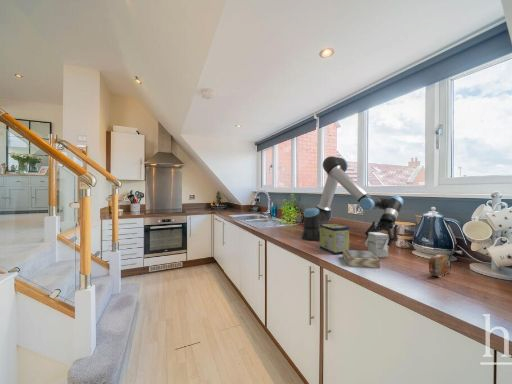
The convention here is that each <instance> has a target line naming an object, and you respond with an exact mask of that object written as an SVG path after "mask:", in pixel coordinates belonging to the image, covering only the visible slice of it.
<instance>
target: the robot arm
mask: <svg viewBox="0 0 512 384" xmlns="http://www.w3.org/2000/svg"><path fill="white" fill-rule="evenodd" d="M322 168H323V170H324V172H325V173H326V175H327V177H326V179H325V181H326V182H325V184H324V188H323V190H322V193H321V197H320V200H319V203H318V204H316V207H309V208H308V207H307V208H305V209H304V210H303V214H302V215H303V230H302V233H301V239H302V240H304V241H309V242H318V241H319V242H320V224H327V223H328V222H330V221H331V219H332V217H333V216H332V215H333V214H332V208H331V206H332V203H333V199H334V197H335V196H334V195H335V193H336V189H337V186H338V183H339V185H341V186H342V187H343V188H344V189H345V190H346V191H347V193H349V195H351V196H352V197H353V198H354V200H356V201H357V202H358V203H359V204H358V205H359V207H360V208H361V209H362V210H363V211H372V210H375V209H376V210H383V212H382V214H381V216H380V218H379V221H378V222H375V221H373V222H372V224H371V225H370V227H369V228H368V229H367V230H366V231H365V232H364V234H365V236H366V238H365V242H364V245H365V247H366V248H368V232H381V231H385V232H387V235H388V239H387V241H386V243H385V245H384V248H383V249H384V250H385V251H387V249H388V250H389V247H391V246H392V243H394V242H395V243H396V242H398V233H399V232H398V231H399V229H400V227H399V225H398V224H395V223H396V221H397V218H398V216H399V214H400V211H401V209H402V207H403V205H404V199H403V198H402V197H401V196H398V195H391V196H390V197H389V198H387V197H385V198H384V197H379V196H371V195H370V194H369V193H368V192H366V190H364V189H363V187H361V186H360V185H359V184H358V183H357V182H356V181H355V180H354V179H353V178H352V177H350V176H349V174H347V173H346V172H347V170H348V168H349V164H348V161H347V160H346V159H344V158H342V157H340V156H333V155H332V156H330V155H329V156H327V157H326V158H324V160H323V162H322ZM392 229H393V236H392V231H391V230H392Z"/></svg>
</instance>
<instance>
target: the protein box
mask: <svg viewBox="0 0 512 384" xmlns="http://www.w3.org/2000/svg"><path fill="white" fill-rule="evenodd" d="M319 230H320V240H319V249H322V250H323V251H326V252H327V253H330V254H332V255H343V250H350V227H349V226H344V225H340V224H336V223H321V224H319Z"/></svg>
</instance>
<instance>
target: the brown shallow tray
mask: <svg viewBox="0 0 512 384" xmlns="http://www.w3.org/2000/svg"><path fill="white" fill-rule="evenodd" d="M342 258H343V260H344V261H345V262H346V264H347V266H349V267H361V268H376V269H377V268H378V269H380V268H381V259H380V257H376V256H375V255H374V254H373V253H372V252H371V251H368V250H357V249H355V250H354V249H349V250H343V254H342Z"/></svg>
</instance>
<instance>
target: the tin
mask: <svg viewBox="0 0 512 384" xmlns="http://www.w3.org/2000/svg"><path fill="white" fill-rule="evenodd" d="M428 269H429V274H430V275H431V276H433V277H436V276H437V278H440V277H439V276H441V275H443V274H446V273H448V274H450V272H451V269H452V261H451V257H450V256H449V254H442V253H439V254H436V255H434V256H431V257H430V258H429V260H428ZM446 275H447V274H446Z"/></svg>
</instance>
